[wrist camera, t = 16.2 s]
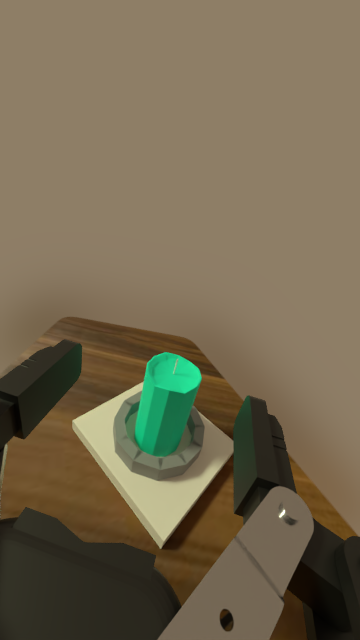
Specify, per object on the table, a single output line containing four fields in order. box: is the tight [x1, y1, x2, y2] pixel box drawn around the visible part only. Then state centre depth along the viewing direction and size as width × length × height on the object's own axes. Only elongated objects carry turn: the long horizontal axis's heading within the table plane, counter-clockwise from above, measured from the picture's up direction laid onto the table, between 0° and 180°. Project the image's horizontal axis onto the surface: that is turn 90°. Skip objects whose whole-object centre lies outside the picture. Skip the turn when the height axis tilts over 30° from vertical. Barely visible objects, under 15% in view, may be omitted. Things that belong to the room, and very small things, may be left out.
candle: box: [134, 352, 202, 457], centre depth 27 cm, size 6×6×12 cm
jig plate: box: [72, 382, 234, 549], centre depth 30 cm, size 16×14×4 cm
